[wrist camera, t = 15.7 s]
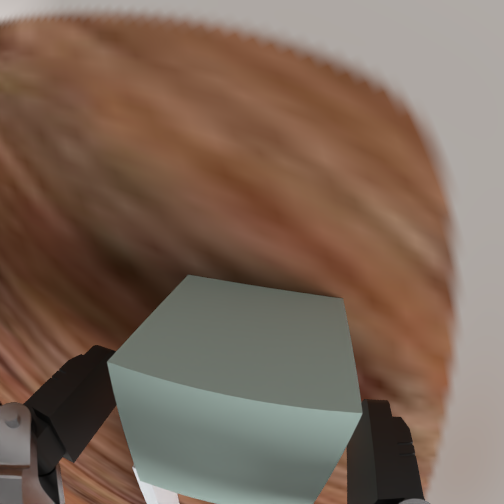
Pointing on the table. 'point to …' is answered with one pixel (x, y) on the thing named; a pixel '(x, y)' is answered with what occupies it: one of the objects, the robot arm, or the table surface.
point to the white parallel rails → (156, 493)
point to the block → (238, 392)
